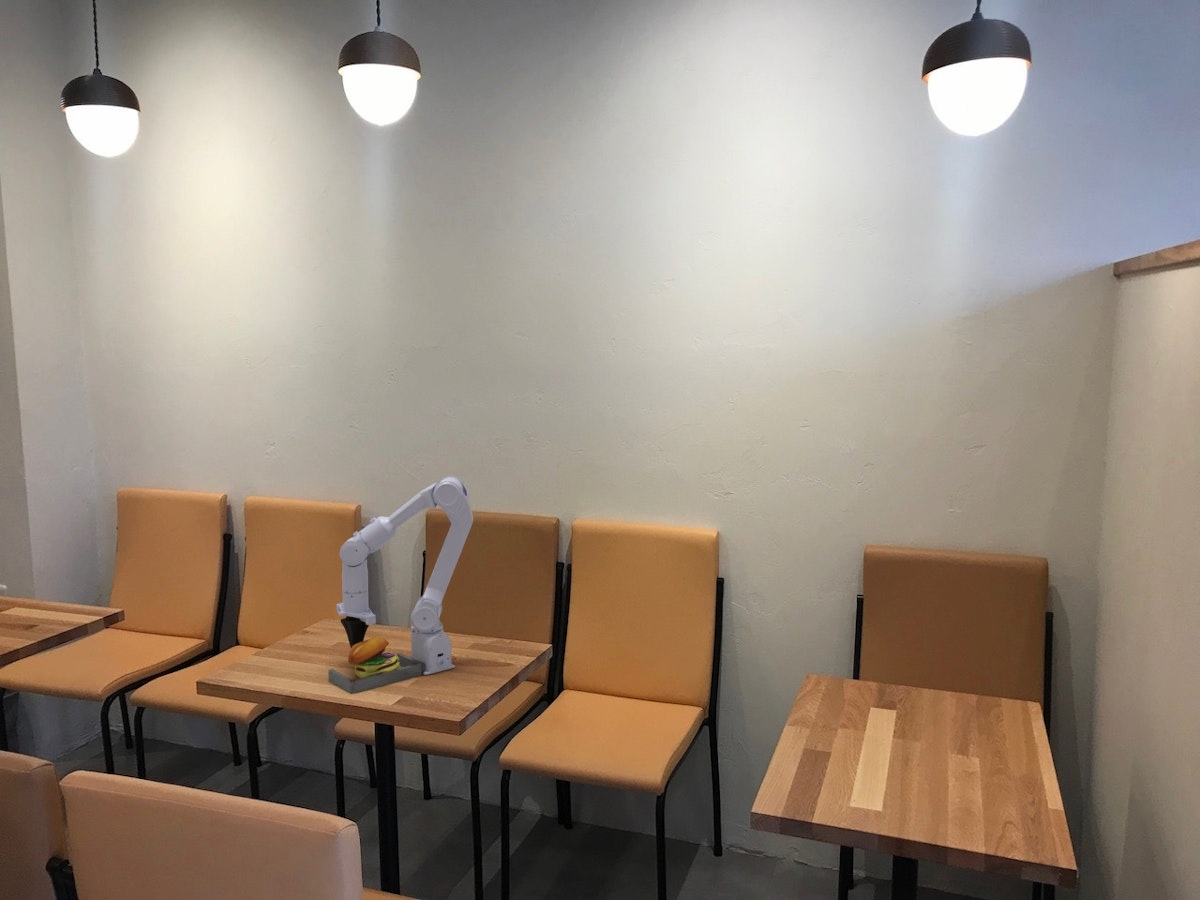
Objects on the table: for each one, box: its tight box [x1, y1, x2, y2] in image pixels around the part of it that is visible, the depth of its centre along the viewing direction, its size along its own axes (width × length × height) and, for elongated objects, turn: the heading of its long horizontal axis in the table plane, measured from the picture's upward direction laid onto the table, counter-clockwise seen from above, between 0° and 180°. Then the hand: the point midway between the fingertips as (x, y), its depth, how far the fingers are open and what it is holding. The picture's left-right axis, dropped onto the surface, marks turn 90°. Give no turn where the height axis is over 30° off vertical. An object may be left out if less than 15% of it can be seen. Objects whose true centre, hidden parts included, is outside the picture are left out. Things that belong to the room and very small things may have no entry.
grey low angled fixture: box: [327, 652, 425, 695], centre depth 207 cm, size 10×18×2 cm, turn 133°
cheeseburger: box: [347, 636, 402, 679], centre depth 208 cm, size 10×11×10 cm
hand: (356, 648), depth 214 cm, fingers closed
